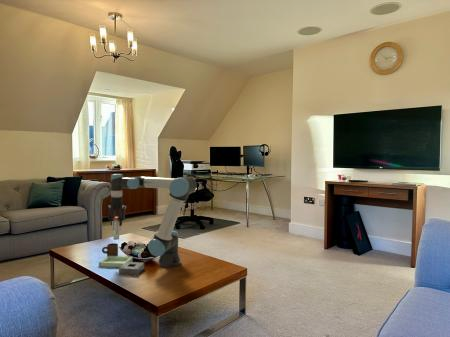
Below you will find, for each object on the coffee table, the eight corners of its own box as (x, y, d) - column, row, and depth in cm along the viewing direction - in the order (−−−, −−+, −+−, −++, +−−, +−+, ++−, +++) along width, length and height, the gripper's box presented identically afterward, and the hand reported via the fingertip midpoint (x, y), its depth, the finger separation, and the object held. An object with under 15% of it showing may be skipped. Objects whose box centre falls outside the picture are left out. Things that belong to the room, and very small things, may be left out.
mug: (104, 261, 217) (104, 248, 217) (99, 258, 222) (99, 245, 222) (120, 257, 226) (120, 244, 226) (114, 254, 231) (114, 242, 231)
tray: (132, 261, 219) (132, 256, 218) (124, 268, 205) (124, 263, 205) (108, 259, 220) (108, 255, 220) (98, 266, 206) (98, 262, 206)
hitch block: (144, 268, 204) (144, 262, 204) (137, 275, 192) (137, 269, 192) (126, 267, 206) (126, 261, 205) (118, 274, 194) (118, 268, 193)
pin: (120, 238, 214) (120, 216, 213) (117, 240, 209) (118, 217, 209) (114, 238, 214) (114, 216, 214) (111, 239, 210) (111, 217, 209)
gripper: (130, 196, 214) (130, 229, 215) (107, 195, 215) (107, 228, 216) (126, 197, 206) (125, 232, 207) (102, 196, 208) (102, 231, 209)
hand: (116, 230), depth 212 cm, fingers closed on pin, 3 cm apart
